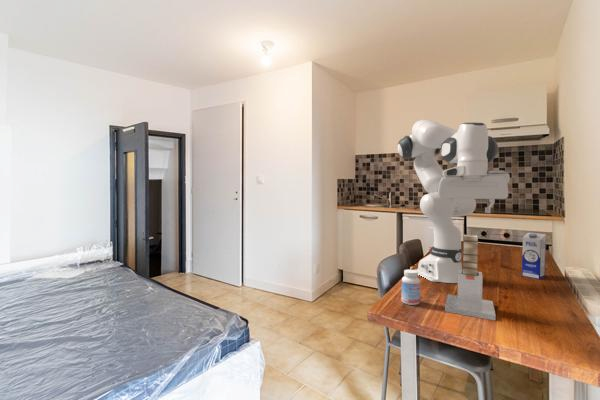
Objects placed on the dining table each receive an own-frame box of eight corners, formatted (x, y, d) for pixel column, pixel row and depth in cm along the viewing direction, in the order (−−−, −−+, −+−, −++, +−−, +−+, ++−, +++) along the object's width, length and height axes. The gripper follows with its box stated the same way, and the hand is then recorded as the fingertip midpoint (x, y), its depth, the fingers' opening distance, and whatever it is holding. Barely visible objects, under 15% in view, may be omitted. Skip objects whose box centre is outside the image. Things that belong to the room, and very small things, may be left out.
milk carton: (545, 277, 138) (546, 233, 137) (539, 279, 134) (541, 235, 134) (527, 273, 144) (528, 232, 143) (521, 275, 140) (522, 233, 139)
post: (462, 286, 100) (463, 236, 100) (462, 283, 104) (463, 234, 103) (477, 288, 98) (478, 237, 98) (476, 285, 102) (477, 235, 101)
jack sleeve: (444, 311, 99) (445, 275, 98) (447, 298, 111) (448, 266, 111) (495, 320, 92) (496, 281, 92) (492, 305, 104) (493, 271, 104)
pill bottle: (411, 306, 103) (411, 274, 102) (397, 301, 108) (398, 270, 108) (423, 303, 105) (423, 272, 105) (409, 298, 111) (410, 268, 111)
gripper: (508, 170, 97) (507, 213, 98) (439, 172, 108) (438, 210, 108) (511, 169, 92) (509, 214, 92) (437, 171, 102) (437, 211, 103)
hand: (470, 212), depth 100 cm, fingers open, 8 cm apart
